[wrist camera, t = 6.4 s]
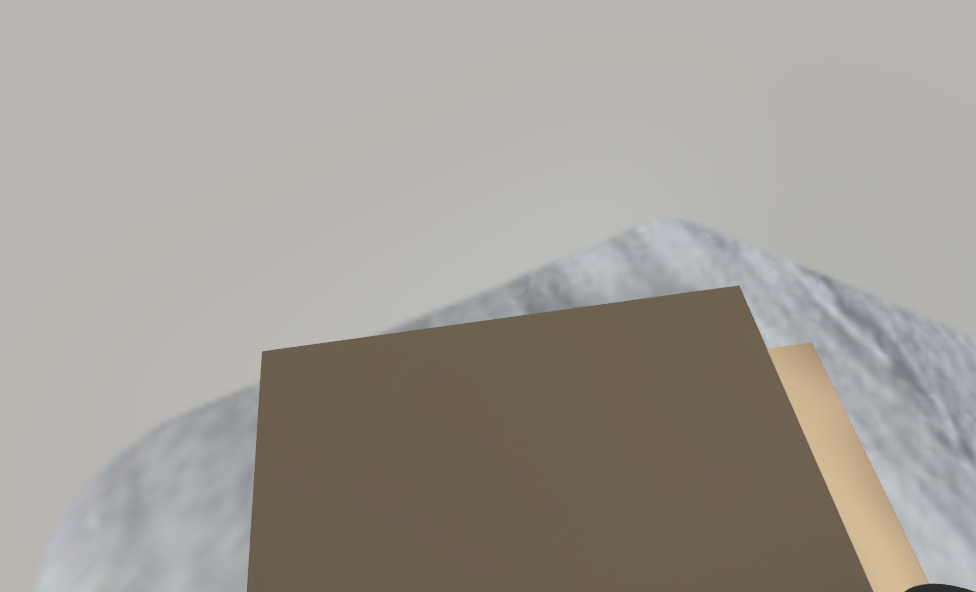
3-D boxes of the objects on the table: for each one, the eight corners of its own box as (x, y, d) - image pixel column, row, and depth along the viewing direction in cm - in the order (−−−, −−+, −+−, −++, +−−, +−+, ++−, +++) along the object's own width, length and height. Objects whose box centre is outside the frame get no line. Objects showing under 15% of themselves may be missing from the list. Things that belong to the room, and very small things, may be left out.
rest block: (769, 387, 31) (812, 342, 27) (860, 601, 26) (930, 586, 22) (580, 414, 30) (593, 373, 26) (633, 639, 25) (660, 632, 21)
